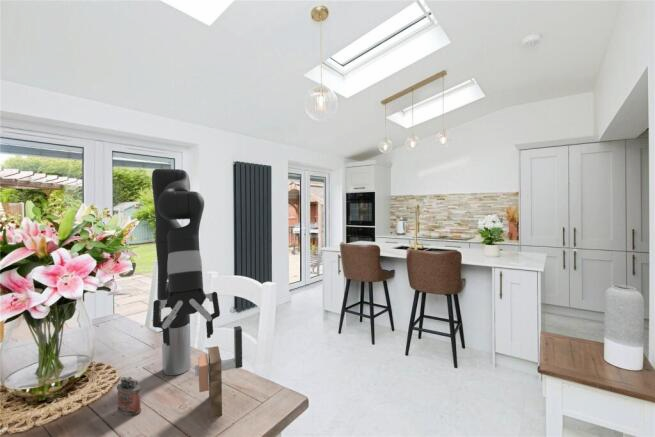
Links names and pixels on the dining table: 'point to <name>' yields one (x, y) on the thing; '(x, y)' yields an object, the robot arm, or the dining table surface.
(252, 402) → the dining table surface
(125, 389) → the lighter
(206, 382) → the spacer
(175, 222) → the robot arm
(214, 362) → the block
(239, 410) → the dining table surface
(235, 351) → the l-shaped bracket
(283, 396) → the dining table surface
